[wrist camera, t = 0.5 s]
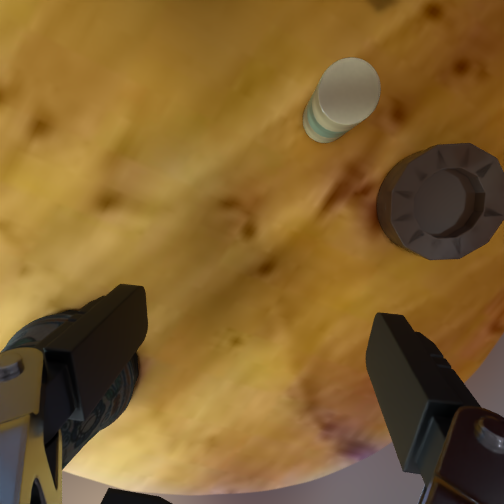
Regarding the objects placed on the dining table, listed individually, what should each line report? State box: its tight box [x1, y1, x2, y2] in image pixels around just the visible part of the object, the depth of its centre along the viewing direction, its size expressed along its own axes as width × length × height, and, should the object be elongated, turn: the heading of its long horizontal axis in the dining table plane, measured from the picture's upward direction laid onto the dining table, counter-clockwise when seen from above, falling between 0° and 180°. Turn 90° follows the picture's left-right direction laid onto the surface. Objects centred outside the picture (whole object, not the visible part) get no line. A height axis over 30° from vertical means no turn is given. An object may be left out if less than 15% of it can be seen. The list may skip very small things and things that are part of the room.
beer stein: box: [0, 310, 138, 470], centre depth 28 cm, size 16×19×25 cm
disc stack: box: [303, 58, 381, 143], centre depth 29 cm, size 5×5×9 cm
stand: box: [377, 143, 504, 260], centre depth 33 cm, size 12×12×4 cm
